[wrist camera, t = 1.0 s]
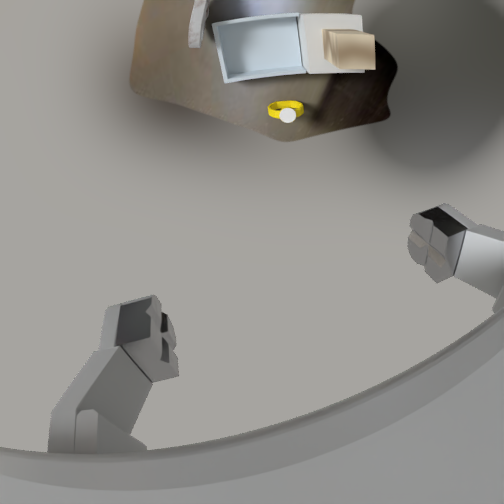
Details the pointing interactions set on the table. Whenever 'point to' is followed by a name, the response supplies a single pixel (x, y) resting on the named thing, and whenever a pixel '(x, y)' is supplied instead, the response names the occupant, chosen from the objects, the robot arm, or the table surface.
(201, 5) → the wrench
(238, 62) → the tray
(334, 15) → the riser
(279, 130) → the table surface
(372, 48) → the block
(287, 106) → the watch
